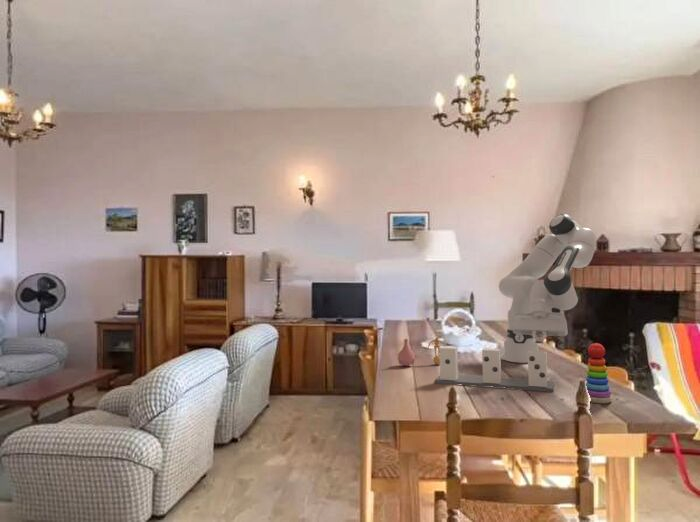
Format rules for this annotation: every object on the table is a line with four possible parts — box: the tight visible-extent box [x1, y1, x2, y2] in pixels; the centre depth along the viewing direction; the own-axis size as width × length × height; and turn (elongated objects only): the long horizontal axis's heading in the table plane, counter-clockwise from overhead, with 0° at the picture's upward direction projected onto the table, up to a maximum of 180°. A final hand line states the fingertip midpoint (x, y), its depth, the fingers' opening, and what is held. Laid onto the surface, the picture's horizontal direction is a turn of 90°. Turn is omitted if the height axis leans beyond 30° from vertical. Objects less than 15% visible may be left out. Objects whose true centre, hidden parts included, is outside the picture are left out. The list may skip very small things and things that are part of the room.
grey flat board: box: [434, 374, 555, 393], centre depth 192 cm, size 12×42×1 cm, turn 66°
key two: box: [481, 347, 502, 384], centre depth 189 cm, size 4×6×12 cm
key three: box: [527, 350, 548, 387], centre depth 183 cm, size 4×6×12 cm
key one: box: [438, 346, 459, 381], centre depth 196 cm, size 4×6×12 cm
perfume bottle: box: [397, 338, 416, 367], centre depth 228 cm, size 8×8×12 cm
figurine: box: [427, 337, 447, 366], centre depth 231 cm, size 8×6×12 cm
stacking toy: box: [585, 342, 613, 404], centre depth 166 cm, size 8×8×19 cm
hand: (539, 342), depth 196 cm, fingers closed
